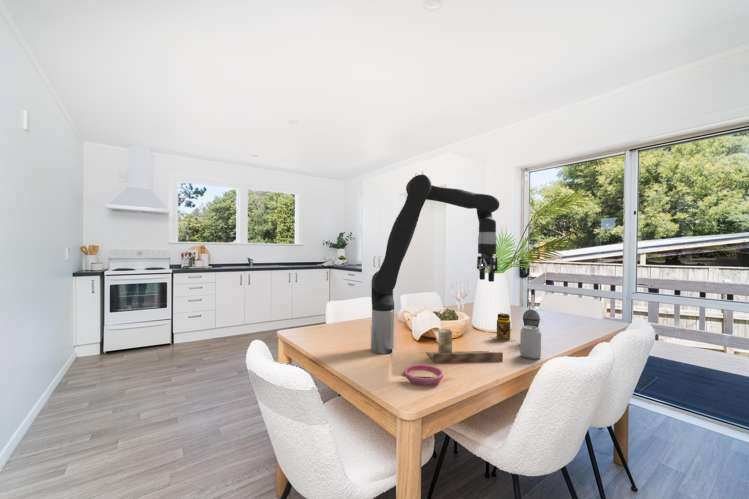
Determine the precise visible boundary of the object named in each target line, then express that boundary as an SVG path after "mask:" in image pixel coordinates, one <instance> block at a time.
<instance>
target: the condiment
mask: <svg viewBox="0 0 749 499" xmlns="http://www.w3.org/2000/svg"><path fill="white" fill-rule="evenodd" d="M510 318H511V317H510V314H509V313H501V312H500V313H498V314H497V319H496V336H490V338H491V339H495V340H497V341H500V342H511V341H514V339H513V338H511V320H510Z"/></svg>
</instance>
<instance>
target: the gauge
mask: <svg viewBox="0 0 749 499" xmlns="http://www.w3.org/2000/svg"><path fill="white" fill-rule="evenodd" d="M437 344H438V347H437V348H438V350H437V352H438V353H452V352H453V331H452V330H451V329H450V328H444V329H443V328H440V329H438V343H437Z"/></svg>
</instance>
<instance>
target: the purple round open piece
mask: <svg viewBox="0 0 749 499" xmlns="http://www.w3.org/2000/svg"><path fill="white" fill-rule="evenodd" d="M421 370H422V371H423V370H424V371H425V370H426V371H429V372H433V373H436V374H437V375H438V376H415V375H411V374H409V373H410V372H412V371H421ZM403 374H404V376H405V378H406V379H407V380H408V381H409V382H410V383H411V384H413V385H415V386H419V387H431V386H436V385H437V384H438V383H439V382H440V381H441V380H442V379H443V377H444V372H443V370H441V369H440V368H439V367H436V366H433V365H427V364H413V365H409V366H407V367H406V368H405V369H404V372H403Z"/></svg>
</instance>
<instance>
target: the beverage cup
mask: <svg viewBox="0 0 749 499" xmlns="http://www.w3.org/2000/svg"><path fill="white" fill-rule="evenodd" d="M530 302H531V301H530V299H528V308H529V309H527V310H525V312H523V315H522V320H523V326H535V327H538V328H539V325H540V322H541V321H540V320H541V317H540V315H539V313H538V311H537V310H535V309H531V303H530Z"/></svg>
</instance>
